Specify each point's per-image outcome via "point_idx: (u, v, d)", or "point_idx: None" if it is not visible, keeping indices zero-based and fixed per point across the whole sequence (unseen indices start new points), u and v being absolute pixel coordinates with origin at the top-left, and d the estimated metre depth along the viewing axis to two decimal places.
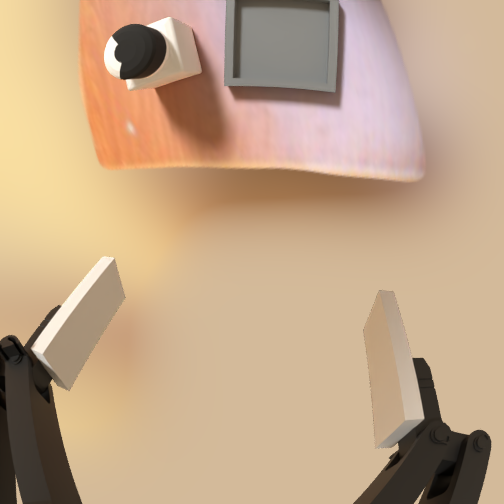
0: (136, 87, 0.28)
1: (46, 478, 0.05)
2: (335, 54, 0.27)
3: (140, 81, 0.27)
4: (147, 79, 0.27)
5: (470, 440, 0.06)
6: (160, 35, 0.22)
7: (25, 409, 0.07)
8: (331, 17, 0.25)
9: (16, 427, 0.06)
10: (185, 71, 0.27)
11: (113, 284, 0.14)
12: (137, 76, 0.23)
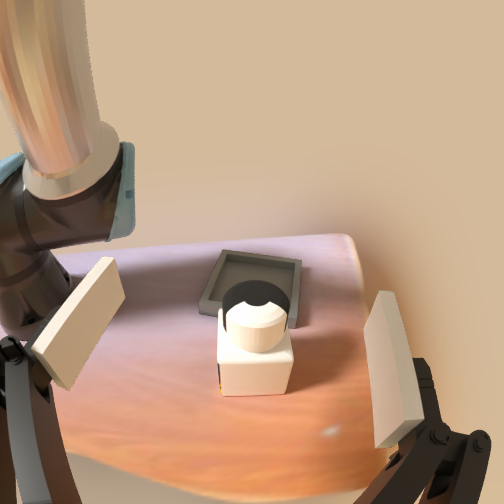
0: (292, 350, 0.27)
1: (46, 478, 0.05)
2: (272, 256, 0.48)
3: (286, 343, 0.28)
4: (285, 336, 0.28)
5: (470, 440, 0.06)
6: None
7: (26, 409, 0.07)
8: (241, 254, 0.48)
9: (16, 427, 0.06)
10: None
11: (113, 284, 0.14)
12: (288, 301, 0.27)
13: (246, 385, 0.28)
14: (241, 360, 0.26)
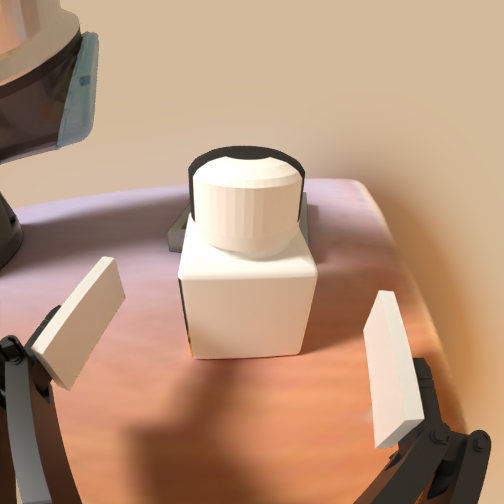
0: (312, 259, 0.16)
1: (46, 478, 0.05)
2: None
3: (302, 248, 0.16)
4: (299, 240, 0.17)
5: (470, 440, 0.06)
6: None
7: (26, 409, 0.07)
8: None
9: (16, 427, 0.06)
10: None
11: (113, 284, 0.14)
12: None
13: (233, 333, 0.17)
14: (221, 272, 0.14)
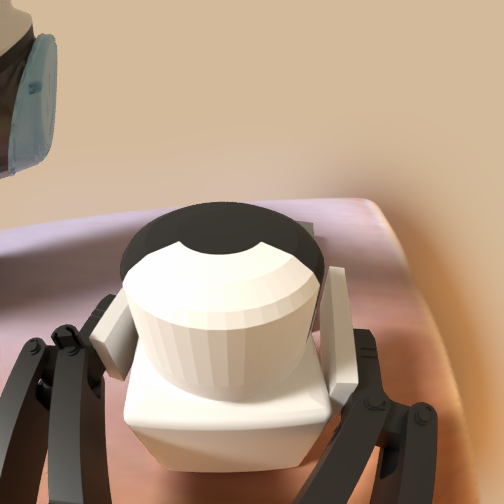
0: (325, 389, 0.09)
1: (82, 481, 0.05)
2: None
3: (310, 371, 0.10)
4: (306, 352, 0.11)
5: (411, 414, 0.08)
6: None
7: (73, 405, 0.07)
8: None
9: (59, 422, 0.07)
10: None
11: None
12: None
13: (211, 461, 0.10)
14: (184, 422, 0.08)
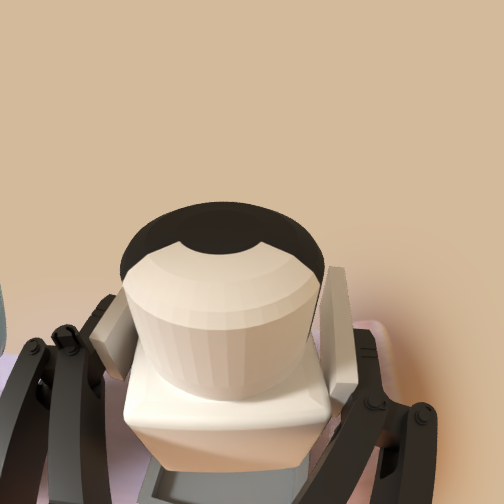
0: (325, 389, 0.09)
1: (82, 481, 0.05)
2: None
3: (310, 371, 0.10)
4: (306, 352, 0.11)
5: (411, 414, 0.08)
6: None
7: (73, 405, 0.07)
8: None
9: (59, 422, 0.07)
10: None
11: None
12: None
13: (211, 461, 0.10)
14: (183, 422, 0.08)
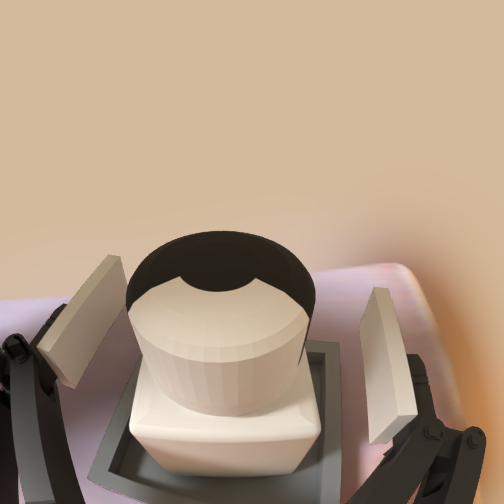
0: (315, 407, 0.10)
1: (50, 478, 0.05)
2: None
3: (302, 390, 0.10)
4: (300, 371, 0.11)
5: (464, 437, 0.06)
6: None
7: (30, 408, 0.07)
8: None
9: (20, 426, 0.06)
10: None
11: (118, 282, 0.14)
12: None
13: (209, 467, 0.11)
14: (184, 434, 0.09)
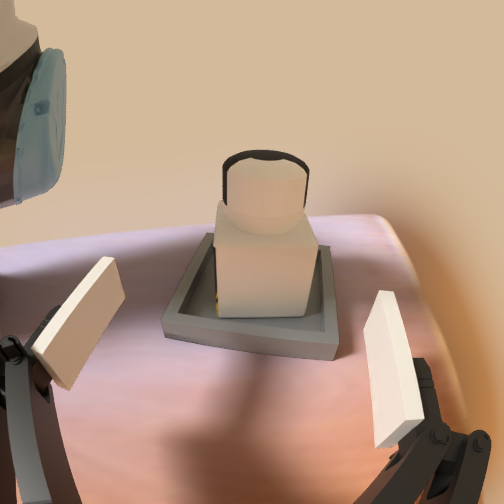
0: (314, 236, 0.21)
1: (46, 478, 0.05)
2: None
3: (306, 228, 0.21)
4: (304, 223, 0.22)
5: (470, 440, 0.06)
6: None
7: (26, 409, 0.07)
8: None
9: (16, 427, 0.06)
10: None
11: (113, 284, 0.14)
12: None
13: (252, 294, 0.22)
14: (246, 242, 0.20)
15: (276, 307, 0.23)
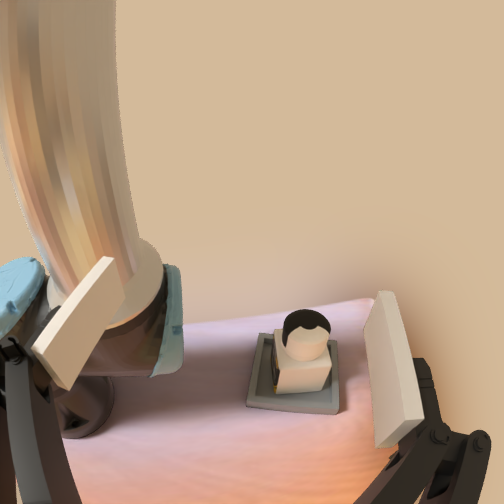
0: None
1: (46, 478, 0.05)
2: None
3: (326, 354, 0.38)
4: (325, 348, 0.38)
5: (470, 440, 0.06)
6: None
7: (26, 409, 0.07)
8: None
9: (16, 427, 0.06)
10: None
11: (113, 284, 0.14)
12: None
13: (295, 384, 0.38)
14: (296, 367, 0.36)
15: (307, 388, 0.39)
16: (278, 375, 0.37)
